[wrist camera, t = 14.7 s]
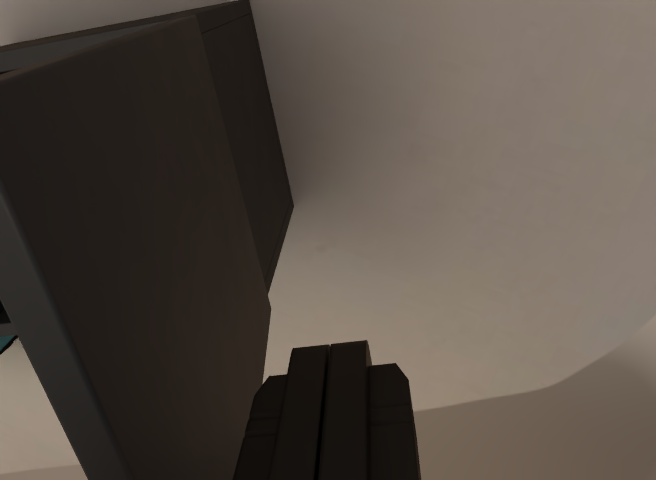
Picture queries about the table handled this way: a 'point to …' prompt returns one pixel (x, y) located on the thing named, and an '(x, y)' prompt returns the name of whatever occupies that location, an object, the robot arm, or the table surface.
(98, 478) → the bin lid
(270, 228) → the trash bin
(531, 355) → the table surface
